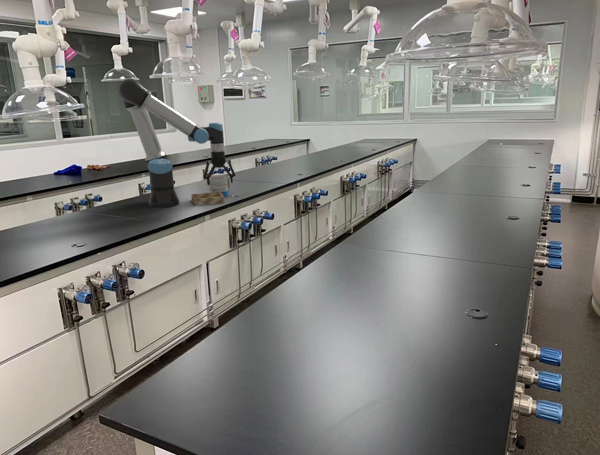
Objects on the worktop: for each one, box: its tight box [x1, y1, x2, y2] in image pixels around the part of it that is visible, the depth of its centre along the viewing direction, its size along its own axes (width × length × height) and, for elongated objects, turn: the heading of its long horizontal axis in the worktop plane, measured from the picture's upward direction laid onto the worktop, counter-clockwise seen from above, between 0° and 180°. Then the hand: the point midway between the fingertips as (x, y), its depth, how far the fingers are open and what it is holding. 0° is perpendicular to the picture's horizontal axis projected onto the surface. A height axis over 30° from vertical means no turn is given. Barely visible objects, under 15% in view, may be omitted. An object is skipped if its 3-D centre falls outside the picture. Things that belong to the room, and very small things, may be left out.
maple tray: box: [191, 192, 225, 206], centre depth 241 cm, size 16×14×3 cm
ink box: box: [209, 173, 231, 197], centre depth 256 cm, size 9×8×12 cm
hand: (220, 189), depth 257 cm, fingers closed on ink box, 11 cm apart
